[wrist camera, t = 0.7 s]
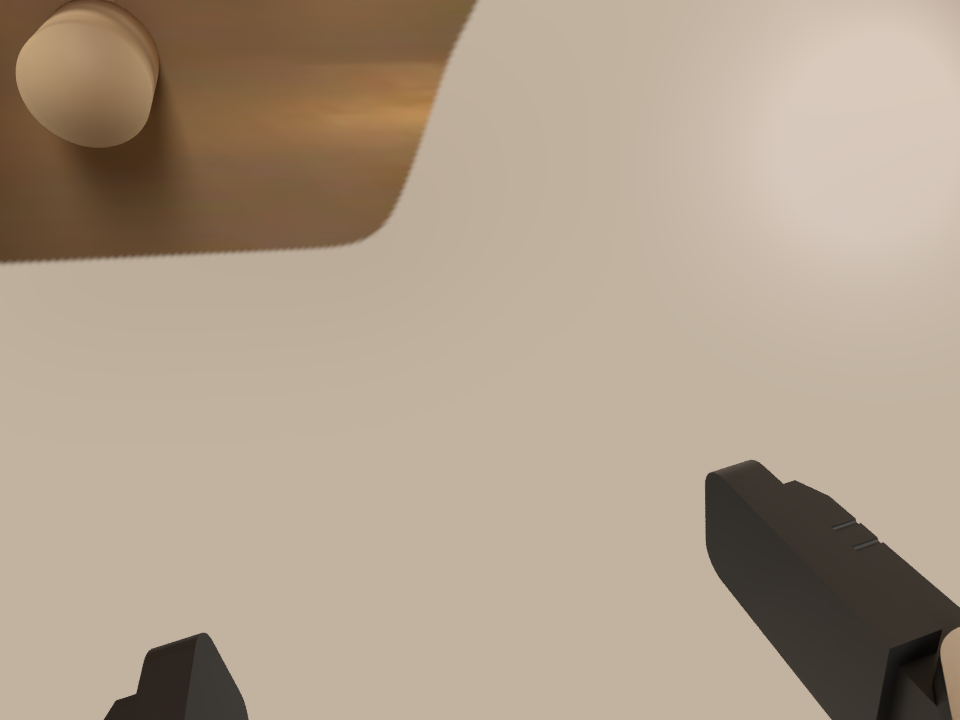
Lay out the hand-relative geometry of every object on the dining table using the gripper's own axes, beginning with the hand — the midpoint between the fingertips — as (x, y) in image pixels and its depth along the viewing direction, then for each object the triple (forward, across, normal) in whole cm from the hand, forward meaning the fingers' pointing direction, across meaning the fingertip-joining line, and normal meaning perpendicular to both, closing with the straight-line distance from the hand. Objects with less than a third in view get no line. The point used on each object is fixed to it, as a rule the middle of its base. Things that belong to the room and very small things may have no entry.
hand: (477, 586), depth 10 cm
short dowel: (+24, +8, -9) cm, 27 cm away
